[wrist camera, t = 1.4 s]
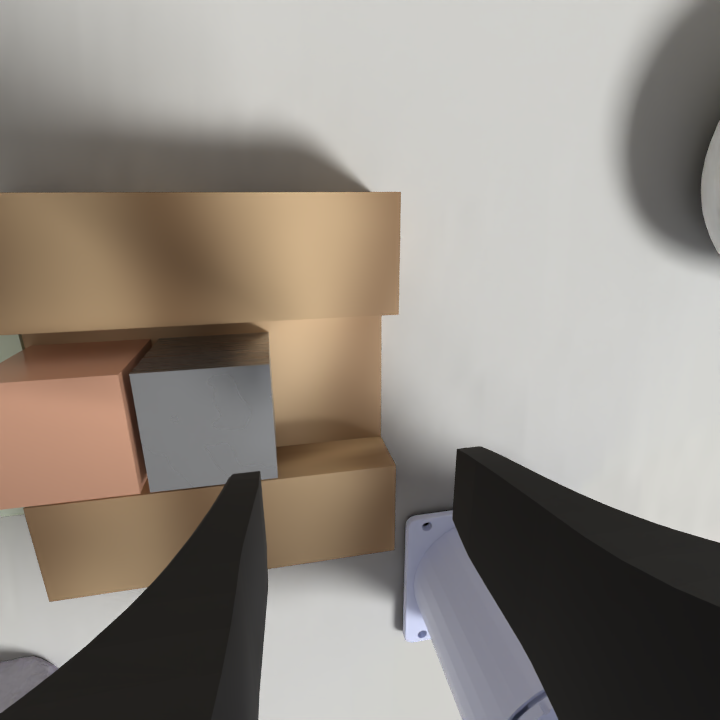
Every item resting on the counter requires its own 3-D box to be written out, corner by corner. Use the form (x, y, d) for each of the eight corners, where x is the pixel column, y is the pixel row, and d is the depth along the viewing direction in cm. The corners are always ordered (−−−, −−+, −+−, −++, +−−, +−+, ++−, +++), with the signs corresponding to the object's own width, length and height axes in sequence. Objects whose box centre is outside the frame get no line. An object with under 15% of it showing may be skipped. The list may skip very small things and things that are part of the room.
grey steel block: (268, 332, 18) (269, 364, 14) (275, 425, 19) (278, 477, 15) (159, 338, 17) (129, 374, 13) (173, 435, 18) (150, 492, 14)
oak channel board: (376, 195, 18) (400, 192, 15) (375, 500, 22) (394, 549, 19) (3, 196, 15) (-67, 192, 12) (85, 537, 20) (49, 601, 17)
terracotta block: (150, 338, 17) (117, 374, 13) (165, 435, 18) (140, 493, 14) (30, 345, 16) (-41, 385, 12) (55, 446, 17) (-3, 510, 14)
